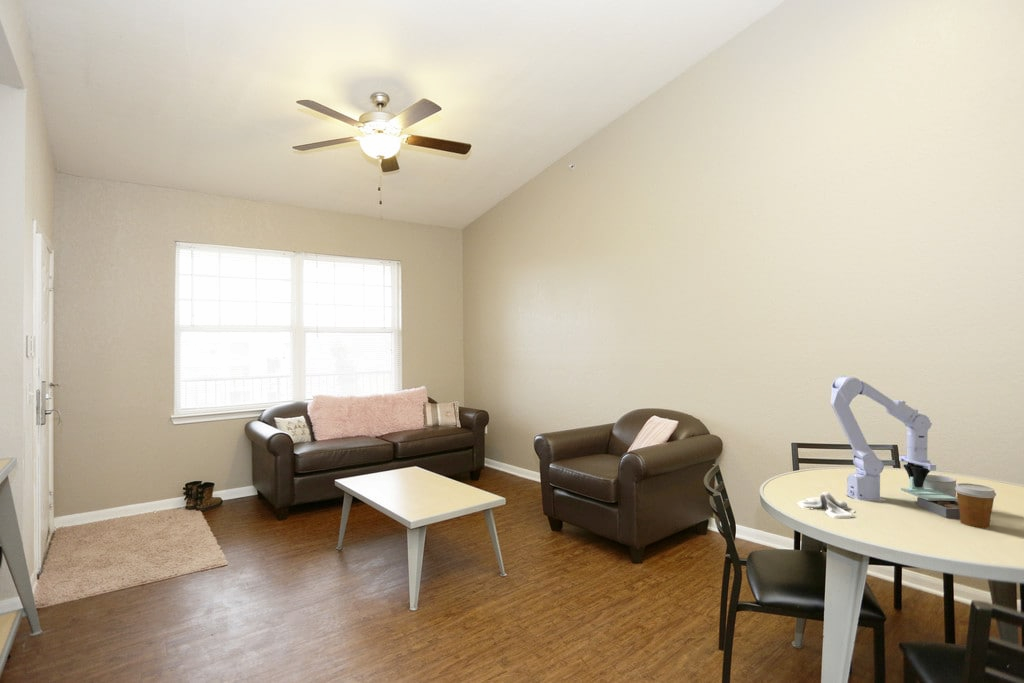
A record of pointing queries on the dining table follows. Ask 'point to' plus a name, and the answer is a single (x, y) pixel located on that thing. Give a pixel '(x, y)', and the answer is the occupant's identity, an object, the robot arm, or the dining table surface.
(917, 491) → the lid
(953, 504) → the walnut block
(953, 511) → the tub
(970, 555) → the dining table surface
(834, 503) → the cloth
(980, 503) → the disposable coffee cup
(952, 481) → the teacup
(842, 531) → the dining table surface
